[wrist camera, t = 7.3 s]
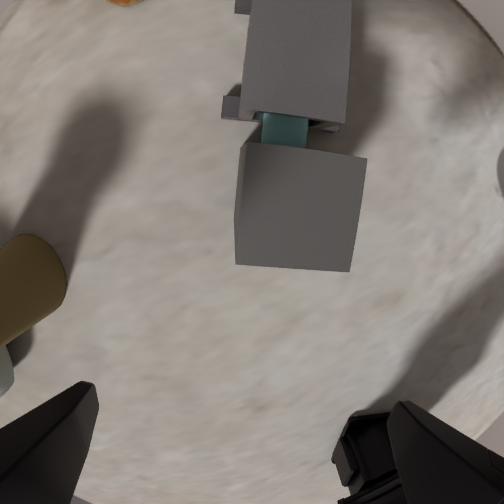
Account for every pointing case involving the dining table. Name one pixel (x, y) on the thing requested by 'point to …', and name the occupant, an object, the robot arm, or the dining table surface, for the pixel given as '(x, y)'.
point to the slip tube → (296, 201)
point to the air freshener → (5, 371)
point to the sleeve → (294, 62)
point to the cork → (28, 284)
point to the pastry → (124, 2)
